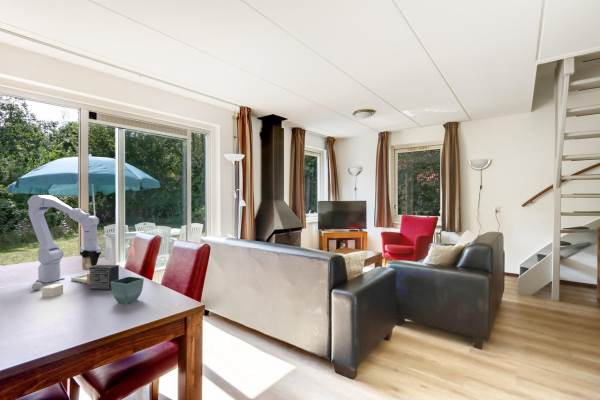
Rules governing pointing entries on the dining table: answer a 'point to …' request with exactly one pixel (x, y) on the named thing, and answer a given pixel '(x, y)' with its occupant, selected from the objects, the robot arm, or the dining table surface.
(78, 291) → the dining table surface
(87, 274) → the peach rounded cylinder
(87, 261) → the maple block
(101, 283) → the small box
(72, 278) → the tray
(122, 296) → the flower pot
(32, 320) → the dining table surface
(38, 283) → the grey ball
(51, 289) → the cream block
